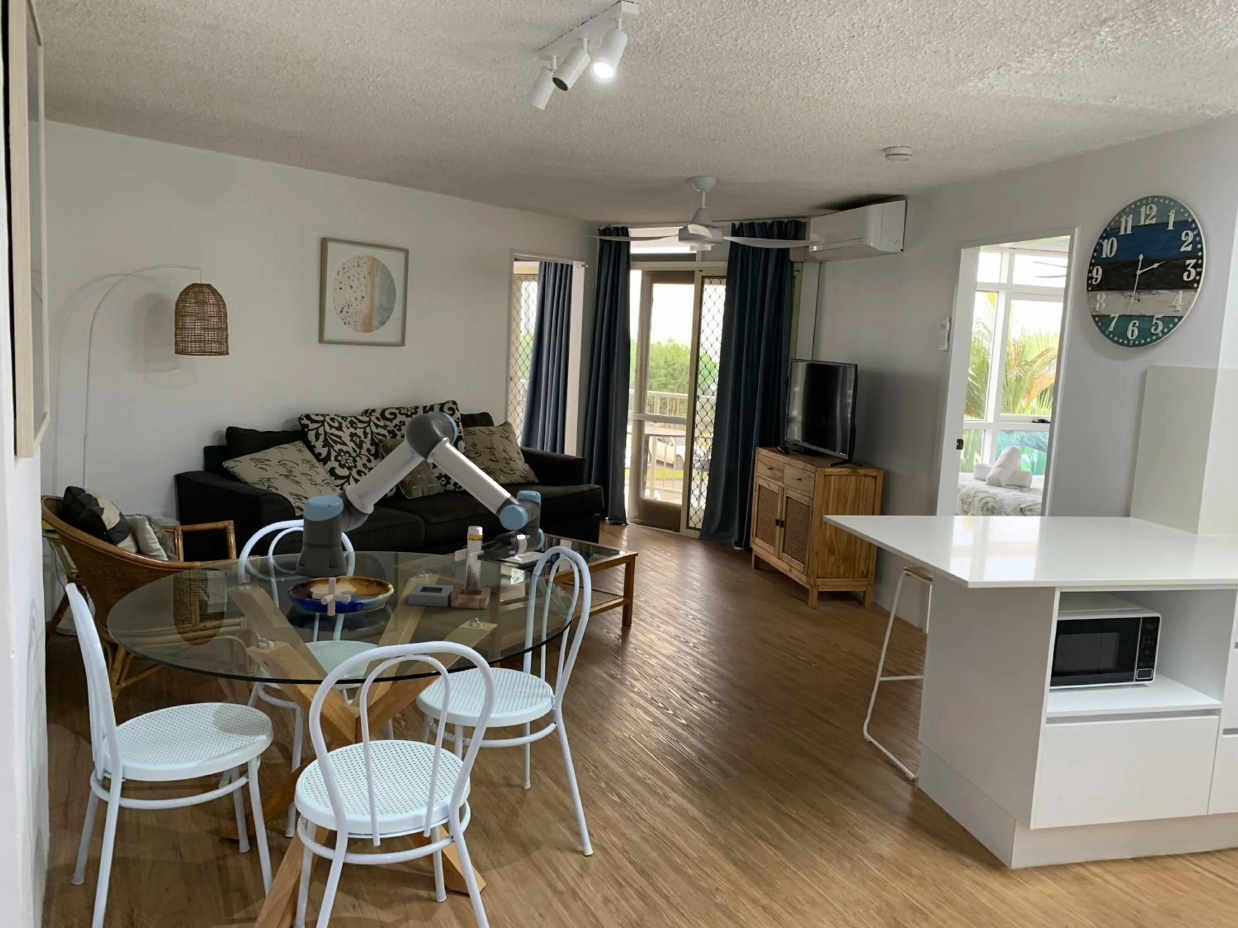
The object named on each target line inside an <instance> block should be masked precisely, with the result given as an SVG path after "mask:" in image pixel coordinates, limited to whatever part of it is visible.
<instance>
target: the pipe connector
mask: <svg viewBox="0 0 1238 928" xmlns="http://www.w3.org/2000/svg"><path fill="white" fill-rule="evenodd" d="M336 582H337V578H336V577H329V578H328V591H327V592H321V591H313V592H312V599H317V600H319V599H320V602H321V604H322V605H327V616H328V617H329V616H330V617H331V616H335V614H336V611H335V610H336V601H337V602H346V603H347V602H348V603H350V602H351V601H352V595H350V594H343V592H344V591H343V589H341V588H337V585H336V584H337V583H336ZM336 588H337V589H336Z"/></svg>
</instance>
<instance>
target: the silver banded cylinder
mask: <svg viewBox="0 0 1238 928" xmlns="http://www.w3.org/2000/svg"><path fill="white" fill-rule="evenodd" d="M466 535H467V537H466V539H467V545H468V546H467V559H466V568H465V569H466V571H465V586H466V587H465V588H466V589H468V590H477V589H479V587H480V581H481V580H480V579H481V564H482V563H481V561H478V562H475V563H471V564H469V563H468V554H471V553H474V552H478V551H481V546H482V542H483V539H484V538H483V537H484V533H483V527H482V526H479V525H470V526H468V530H467V534H466Z"/></svg>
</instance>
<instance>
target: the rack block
mask: <svg viewBox="0 0 1238 928" xmlns="http://www.w3.org/2000/svg"><path fill="white" fill-rule="evenodd" d="M465 587H466V585H465V586H464V585H463V586H462V585H457V586H456V587H455V589H453V594H452V596H451V600H450V607H451V608H463V609H465V608H466V609H481V610H484V609H485V610H487V607H488V604H489V601H490V598H491V590H492V588H491V587H481V586H479V589H477V590H468V589H466V588H465Z"/></svg>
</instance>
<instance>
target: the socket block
mask: <svg viewBox="0 0 1238 928" xmlns="http://www.w3.org/2000/svg"><path fill="white" fill-rule="evenodd" d="M453 592H454V585H449V584H448V585H446V584H433V583H431V584H430V583H415V584H414V586H413V587H412V589H410V592H409V593H408V600H407V601H408V603H407V604H408V605H414V606H430V607H445V606H447V607H448V606H449V604H450V603H451V596H452V594H453Z"/></svg>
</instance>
